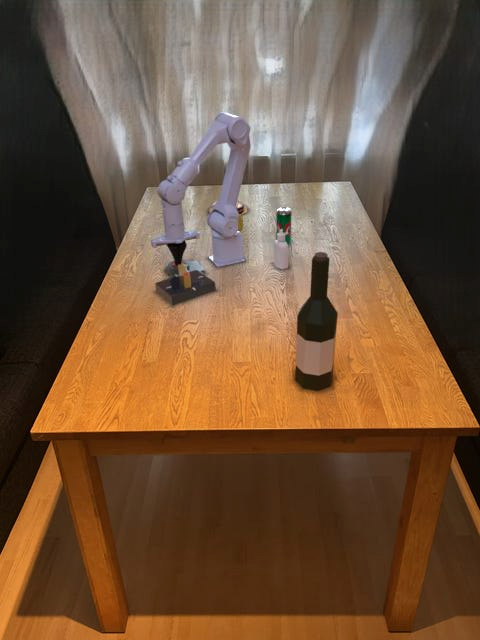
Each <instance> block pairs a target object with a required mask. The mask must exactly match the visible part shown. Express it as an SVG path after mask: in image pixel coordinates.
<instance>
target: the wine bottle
mask: <svg viewBox="0 0 480 640" xmlns="http://www.w3.org/2000/svg"><path fill="white" fill-rule="evenodd" d="M330 259H331V258H330V257H329V256H328V253H326V252H324V251H318V252H315V253H314V256H313V257H312V258H311V270H310V271H311V273H310V294H309V296H308V298H307V299H306V301H305V302H304V303H303V305H301V307H300V309H299V311H298V313H297V316H296V343H295V344H296V345H295V374H294V375H295V377H294V381H295V382H296V383H297V384H298V385H299V386H300V387H301V388H302V389H304V390H309V391H310V390H311V391H316V392H320V391H322V390H324V389H327V388H330V387H331V384H332V381H333V377H334V363H335V351H336V340H337V327H338V314H339V312H338V311H337V310H336V308H335V306H334V305H333V304H332V301H331V300H330V298H329V296H328V287H329V272H330Z"/></svg>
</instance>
